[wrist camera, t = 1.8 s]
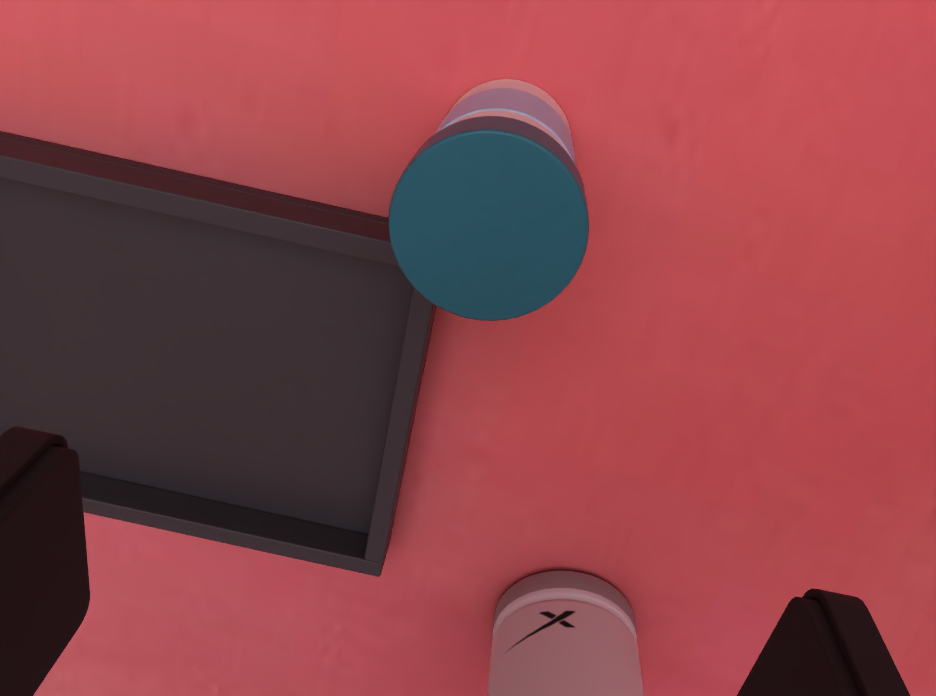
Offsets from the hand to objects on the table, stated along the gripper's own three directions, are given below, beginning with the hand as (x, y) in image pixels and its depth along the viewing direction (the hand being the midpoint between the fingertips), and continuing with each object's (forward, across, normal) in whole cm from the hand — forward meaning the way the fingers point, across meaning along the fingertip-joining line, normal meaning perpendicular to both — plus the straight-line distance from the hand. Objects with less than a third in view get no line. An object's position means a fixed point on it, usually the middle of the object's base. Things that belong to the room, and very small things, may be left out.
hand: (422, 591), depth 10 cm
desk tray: (+17, +11, +9) cm, 22 cm away
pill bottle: (+17, 0, -2) cm, 17 cm away
